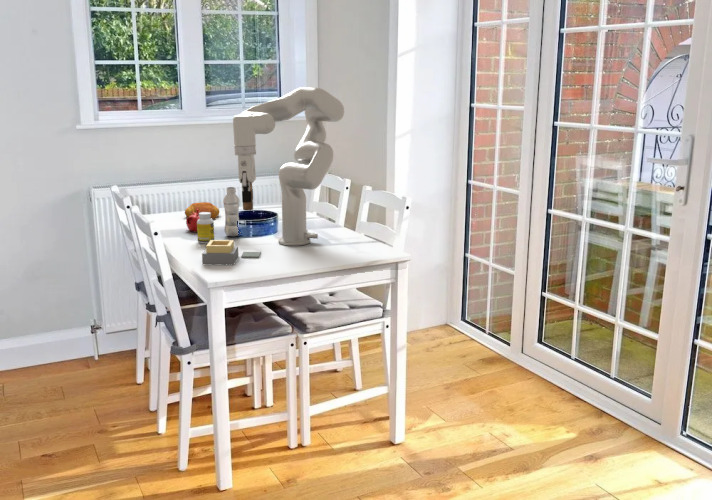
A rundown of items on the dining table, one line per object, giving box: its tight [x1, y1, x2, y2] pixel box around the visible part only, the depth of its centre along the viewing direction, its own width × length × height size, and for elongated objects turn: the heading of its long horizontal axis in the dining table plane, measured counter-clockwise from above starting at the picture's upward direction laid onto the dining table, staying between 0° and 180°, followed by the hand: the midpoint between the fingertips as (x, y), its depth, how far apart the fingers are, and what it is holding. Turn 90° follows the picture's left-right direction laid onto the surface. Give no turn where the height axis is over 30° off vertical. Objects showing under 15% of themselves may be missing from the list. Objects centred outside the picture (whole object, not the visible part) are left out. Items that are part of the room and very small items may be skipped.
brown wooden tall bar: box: [242, 181, 254, 211], centre depth 254 cm, size 4×4×15 cm
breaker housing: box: [201, 239, 239, 266], centre depth 253 cm, size 11×11×6 cm
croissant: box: [184, 201, 220, 219], centre depth 324 cm, size 14×16×8 cm
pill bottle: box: [196, 212, 215, 244], centre depth 279 cm, size 6×6×12 cm
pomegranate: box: [185, 209, 200, 233], centre depth 299 cm, size 10×10×9 cm
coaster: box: [240, 251, 262, 259], centre depth 261 cm, size 6×6×1 cm
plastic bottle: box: [222, 186, 240, 237], centre depth 288 cm, size 6×7×20 cm
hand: (247, 200), depth 255 cm, fingers closed on brown wooden tall bar, 3 cm apart
